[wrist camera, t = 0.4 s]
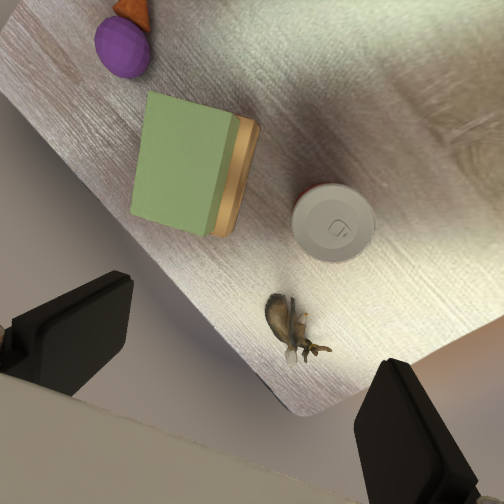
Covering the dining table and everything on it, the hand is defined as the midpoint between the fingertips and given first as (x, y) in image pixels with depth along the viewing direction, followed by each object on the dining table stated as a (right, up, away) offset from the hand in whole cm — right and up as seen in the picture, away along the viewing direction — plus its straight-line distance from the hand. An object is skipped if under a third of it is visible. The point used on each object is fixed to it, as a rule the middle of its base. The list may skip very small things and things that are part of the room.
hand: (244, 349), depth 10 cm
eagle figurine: (+6, -6, +32) cm, 33 cm away
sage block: (-7, +13, +24) cm, 28 cm away
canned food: (+10, +9, +27) cm, 30 cm away
